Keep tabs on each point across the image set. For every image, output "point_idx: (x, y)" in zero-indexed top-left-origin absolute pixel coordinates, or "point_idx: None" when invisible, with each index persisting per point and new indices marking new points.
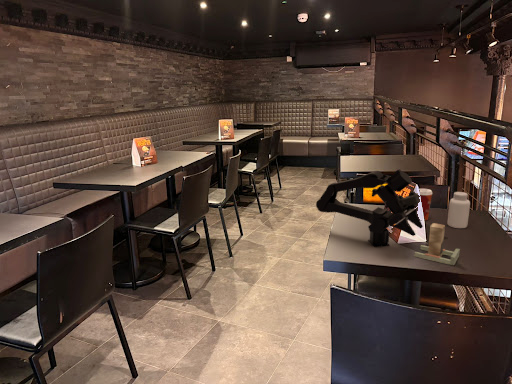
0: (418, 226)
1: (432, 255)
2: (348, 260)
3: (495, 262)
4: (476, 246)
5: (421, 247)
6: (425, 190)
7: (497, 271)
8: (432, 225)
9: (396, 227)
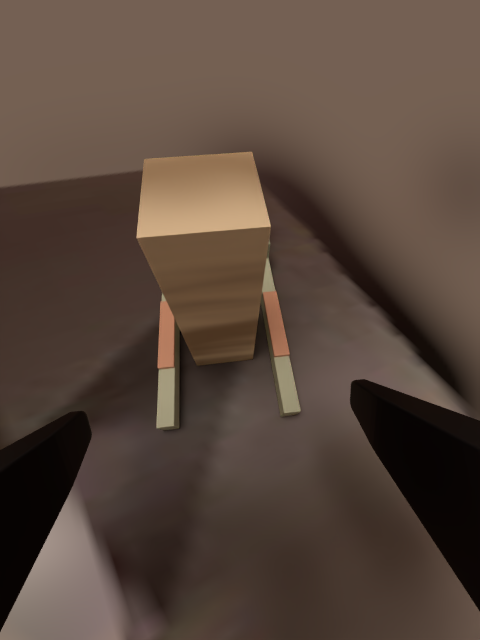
0: (78, 462)
1: (277, 320)
2: None
3: None
4: (19, 250)
5: (176, 420)
6: None
7: None
8: (223, 221)
9: None
